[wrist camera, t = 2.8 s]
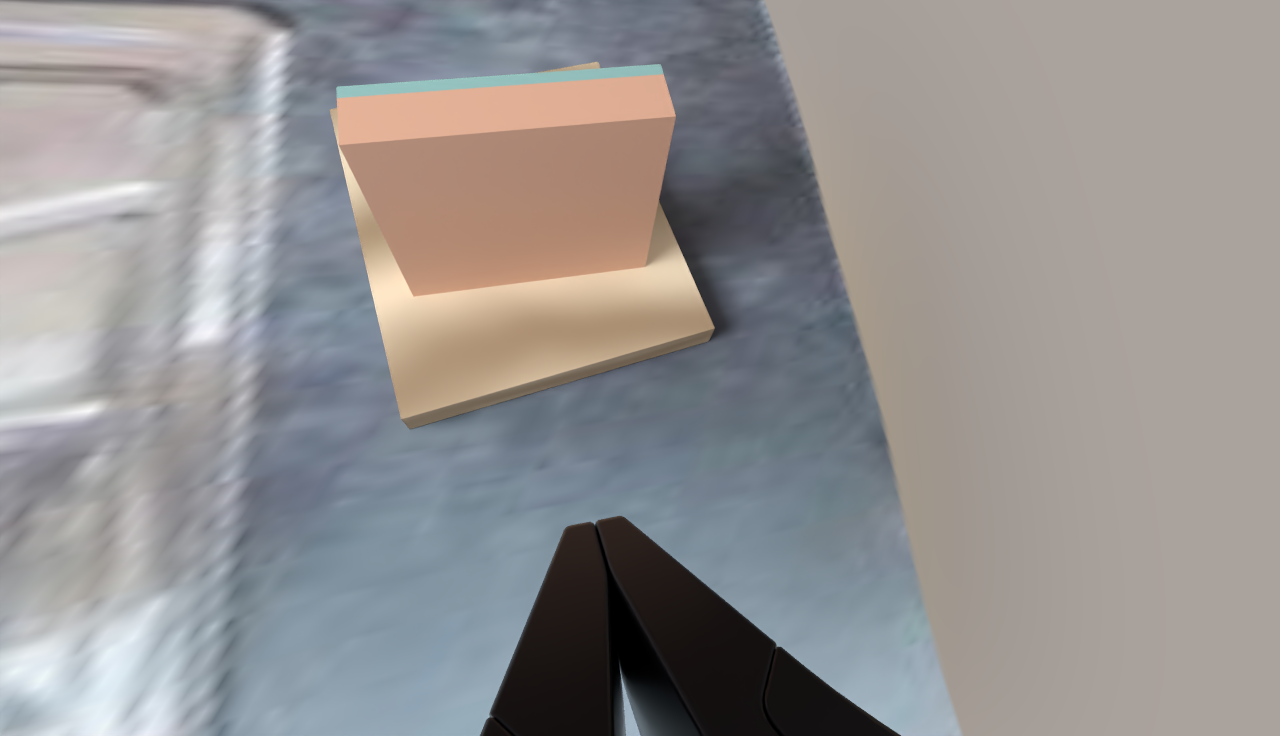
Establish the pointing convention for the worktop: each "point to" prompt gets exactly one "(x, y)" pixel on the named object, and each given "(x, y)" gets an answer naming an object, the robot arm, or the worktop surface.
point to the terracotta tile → (511, 172)
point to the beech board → (524, 323)
